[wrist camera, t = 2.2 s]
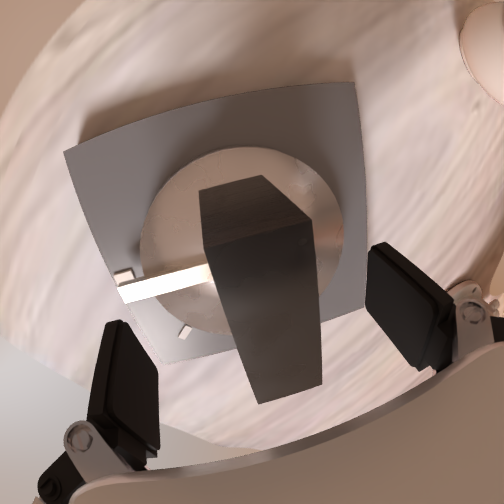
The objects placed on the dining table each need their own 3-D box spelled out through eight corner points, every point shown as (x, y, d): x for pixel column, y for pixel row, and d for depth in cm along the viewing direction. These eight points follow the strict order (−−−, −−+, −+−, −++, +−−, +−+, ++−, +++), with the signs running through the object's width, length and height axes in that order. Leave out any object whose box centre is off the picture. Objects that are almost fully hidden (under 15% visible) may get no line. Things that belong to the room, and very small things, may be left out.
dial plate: (337, 84, 14) (355, 81, 12) (352, 292, 22) (365, 308, 20) (76, 147, 13) (61, 152, 11) (163, 346, 21) (162, 367, 19)
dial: (321, 128, 14) (419, 148, 7) (335, 292, 19) (391, 370, 12) (92, 188, 13) (20, 254, 6) (161, 340, 18) (159, 437, 11)
